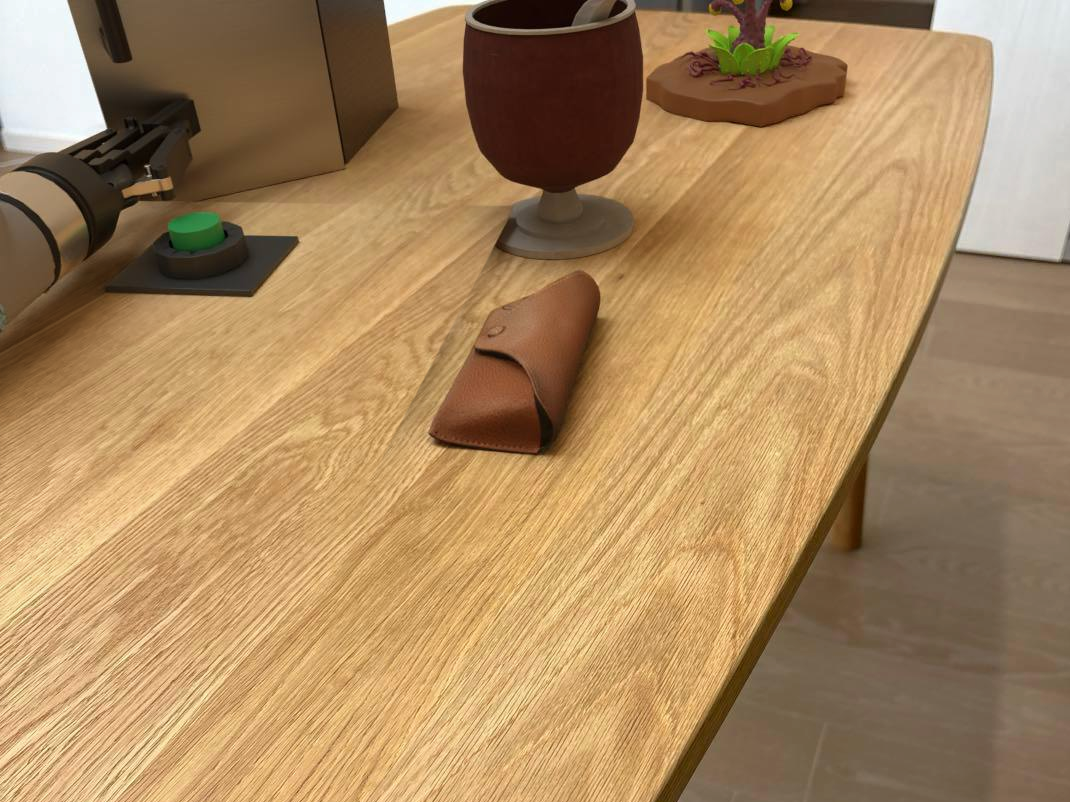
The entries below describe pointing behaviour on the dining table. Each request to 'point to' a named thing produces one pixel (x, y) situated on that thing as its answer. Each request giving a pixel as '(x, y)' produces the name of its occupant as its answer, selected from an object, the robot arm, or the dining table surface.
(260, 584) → the dining table surface
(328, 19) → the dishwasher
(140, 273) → the panel
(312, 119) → the dishwasher door
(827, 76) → the plant
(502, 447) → the sunglasses case
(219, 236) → the button
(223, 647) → the dining table surface
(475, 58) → the mate gourd
